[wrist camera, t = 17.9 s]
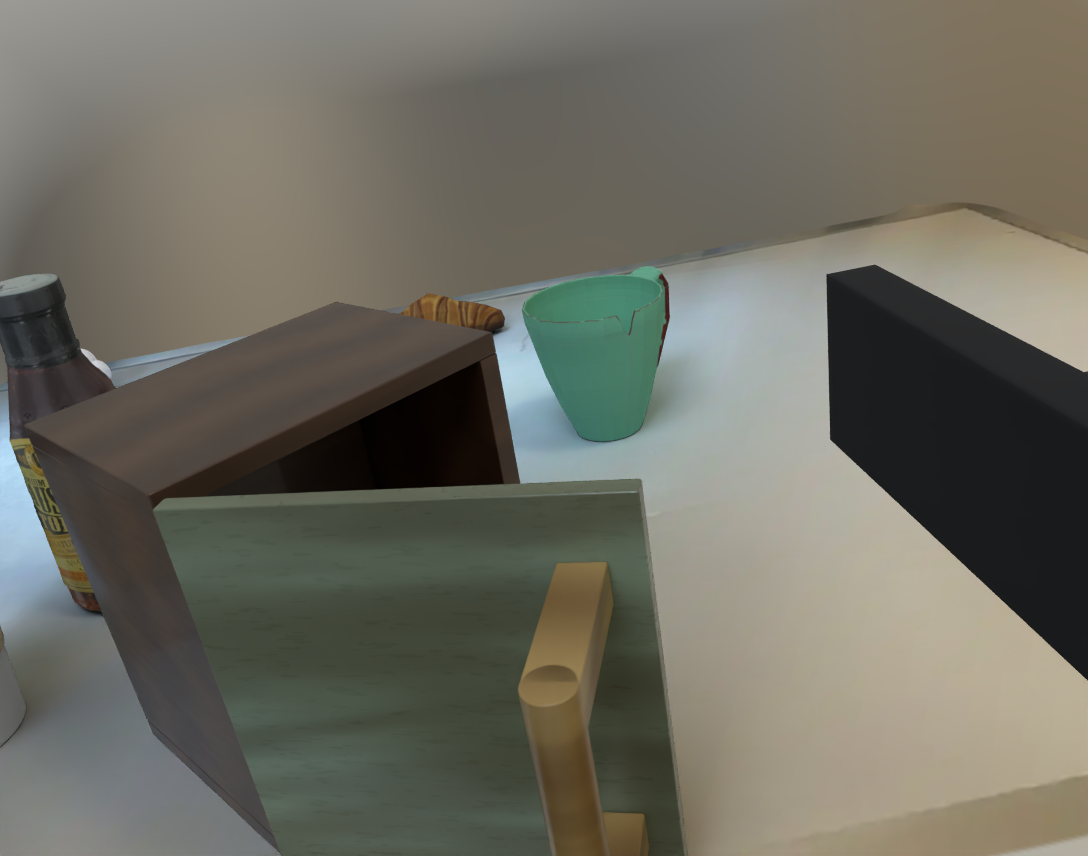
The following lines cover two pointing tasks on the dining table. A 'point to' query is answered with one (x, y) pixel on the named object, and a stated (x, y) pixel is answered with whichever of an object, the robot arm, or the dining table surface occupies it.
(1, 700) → the coffee cup
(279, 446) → the cupboard
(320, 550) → the cupboard door
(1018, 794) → the dining table surface
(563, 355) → the mug
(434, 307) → the croissant
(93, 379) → the sauce bottle
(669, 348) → the dining table surface
